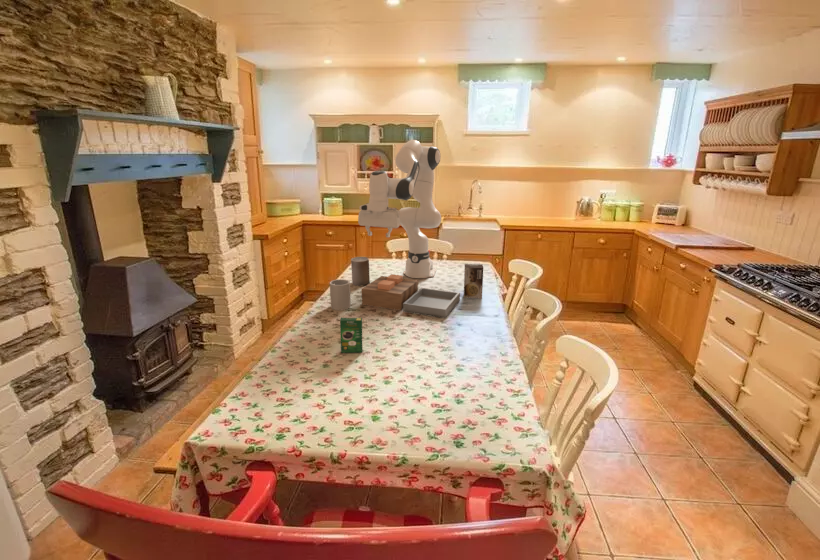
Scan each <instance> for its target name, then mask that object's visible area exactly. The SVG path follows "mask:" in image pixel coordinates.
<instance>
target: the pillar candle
mask: <svg viewBox="0 0 820 560" xmlns="http://www.w3.org/2000/svg"><path fill="white" fill-rule="evenodd" d="M350 265H351V283H352V285H355V286H357V285H358V286H359V287H360V285H363V286H367V285H368V284H370V283H371V281H370V279H371V277H370V259H369V257H366V256H356V257H353V258H352V257H351V259H350Z"/></svg>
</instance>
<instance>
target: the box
mask: <svg viewBox="0 0 820 560" xmlns="http://www.w3.org/2000/svg"><path fill="white" fill-rule="evenodd" d="M460 297H461V292H458V291H448V290H442V289H434V288H428V287H427V288H426V287H420V288H418V291H417V292H416V293H415V294H414V295H412V296H411V297H410V298H409V299H408V300H407V301H405V302H404V303H403V309H402V312H404V313H408V314H415V315H416V314H417V315H421V314H422V315H423V316H429V317H434V316H435V318H441V319H446V318H447V317H448V316H449V314H450V313H451V312H452V311H453V309H454V308H455V306H457V305H458V303H459V302H460V301H461V299H460Z"/></svg>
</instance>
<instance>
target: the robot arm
mask: <svg viewBox="0 0 820 560" xmlns="http://www.w3.org/2000/svg"><path fill="white" fill-rule="evenodd" d="M440 162H441V151H440V150H439V148H438V147H436V146H427V145H425V146H424V145H422V144H421V142H420V141H418V140H416V139H410V140H408V141H407V142H405V143H404V144H403V145H402V147H401V148H400V149H399V150H398V152H397V154H396V155H395V166H396V167H397V168H398V170H399V171H400V172H402V173H403V174H404V173H405V174H406V177H401V178H398V177H396V178H395V177H389V176H388V173H387V171H386V170H375V171H372V172H371V173H370V174H369V175H370V176H369V183H368V190H369V191H368V192H369V198H368V202H367V203H365V204H362V205H359V212H358V217H357V223H358V225H359V226H362V227H365V230H366V232H367V236H368V237H369V236H370V237H372V236H373V231H371V227H374V228H385V229H386V228H387V230H388V232H386V233H385V237H386V238H390V237H391V233H392V231H393V229H398V228H399V227H400V226H401V227H402V228H403V229H404V230H405V232H406V235H407V238H408V253H407V256H408V258H407V259H406V260H405V270H404V271H403V274H404V275H405V276H407V277H408V278H411V279H412V278H413V279H426V278H434V276H435V275H436V273H437V270H438V269H437V268H436V267H434V261H433V260H432V259H431V258H430V253H431V250H430V249H429V238H428V237H427V235H426V234H424V233H423V232H422V230H421V229H435V228H439V226H440V225H441V223H442V214H441V212H440V211H439V210H438V209H437V208H436V206H435V204H434V201H433V189H434V183H435V182H434V181H435V169H436V168H437V166H438V165H439V164H440ZM410 198H413V200H415V201H416V202H418V203H419V207H410V206H408V207H401V208H400V209H398V208H397V207H390V206H389V199H390V200H391V199H392V200H400V201H409V200H410Z"/></svg>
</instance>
